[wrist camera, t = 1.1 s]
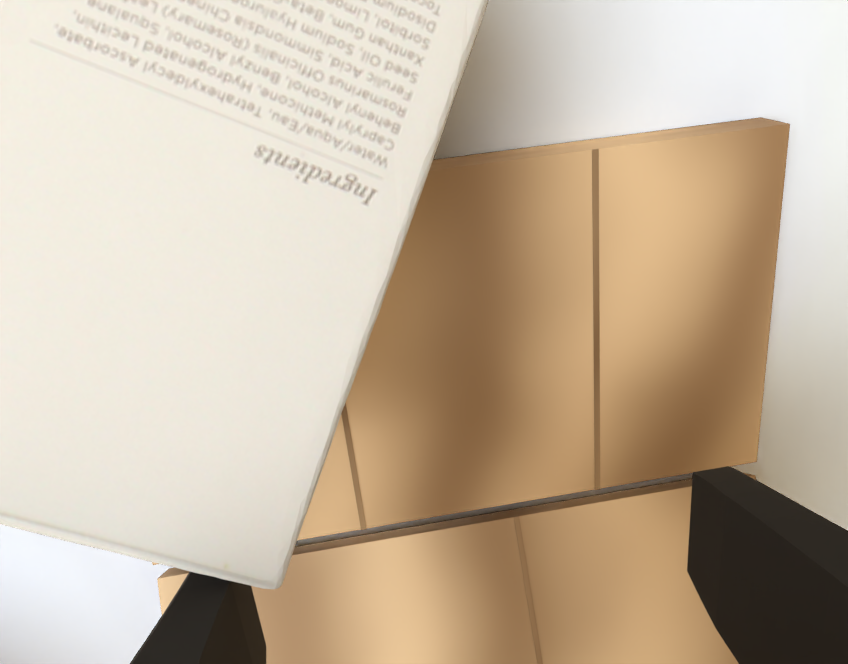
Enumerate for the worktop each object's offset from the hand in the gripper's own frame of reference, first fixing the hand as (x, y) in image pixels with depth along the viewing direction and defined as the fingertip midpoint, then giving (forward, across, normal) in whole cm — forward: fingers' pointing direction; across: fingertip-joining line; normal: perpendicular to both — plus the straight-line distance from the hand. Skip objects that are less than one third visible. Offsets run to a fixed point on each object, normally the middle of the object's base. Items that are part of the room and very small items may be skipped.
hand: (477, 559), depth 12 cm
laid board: (+10, -1, 0) cm, 10 cm away
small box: (+6, +1, -10) cm, 12 cm away
